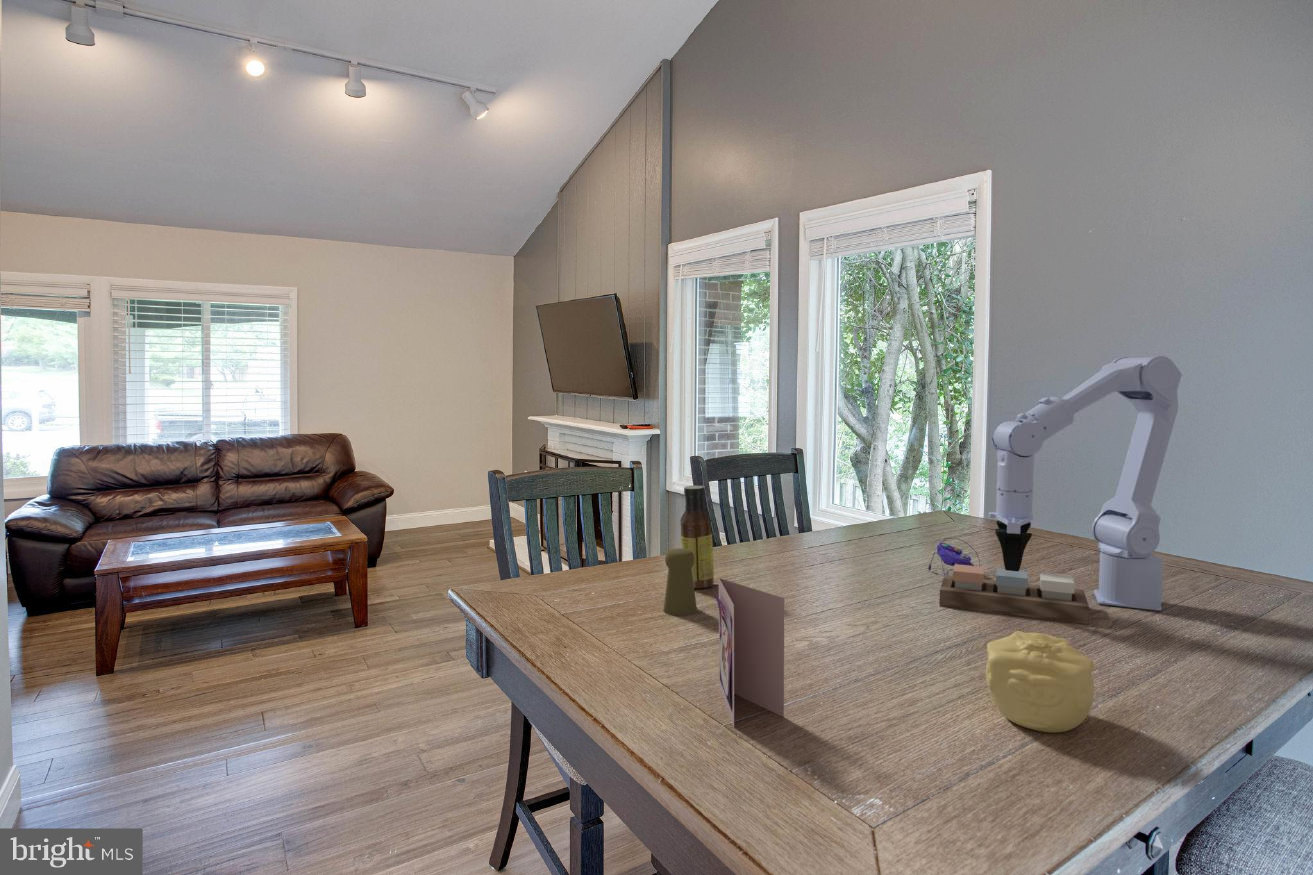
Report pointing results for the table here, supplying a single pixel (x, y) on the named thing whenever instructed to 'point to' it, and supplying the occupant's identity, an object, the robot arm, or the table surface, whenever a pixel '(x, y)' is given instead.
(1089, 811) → the table surface
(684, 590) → the cork
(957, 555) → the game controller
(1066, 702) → the sculpture
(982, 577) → the terracotta key
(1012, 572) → the slate key
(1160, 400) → the robot arm
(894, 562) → the table surface
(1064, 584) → the ivory key
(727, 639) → the greeting card
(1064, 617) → the brown long flat frame
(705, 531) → the sauce bottle
